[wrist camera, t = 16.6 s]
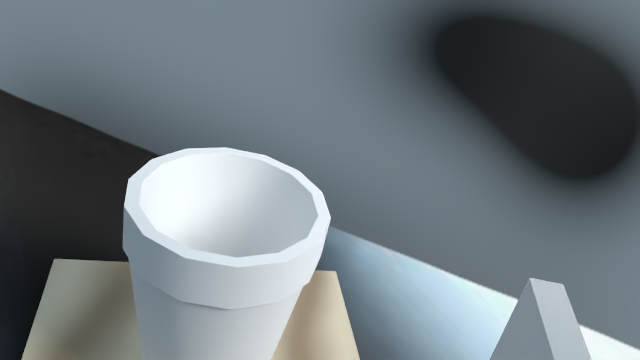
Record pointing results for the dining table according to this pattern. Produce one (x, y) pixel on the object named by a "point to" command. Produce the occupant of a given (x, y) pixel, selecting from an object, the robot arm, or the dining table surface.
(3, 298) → the dining table surface
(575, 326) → the robot arm
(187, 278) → the foam cup
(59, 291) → the serving board
